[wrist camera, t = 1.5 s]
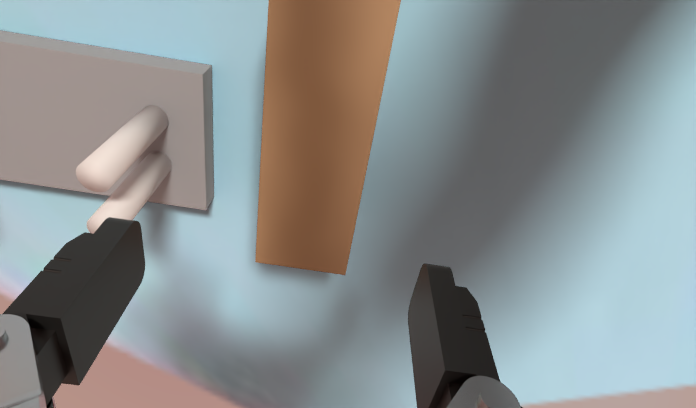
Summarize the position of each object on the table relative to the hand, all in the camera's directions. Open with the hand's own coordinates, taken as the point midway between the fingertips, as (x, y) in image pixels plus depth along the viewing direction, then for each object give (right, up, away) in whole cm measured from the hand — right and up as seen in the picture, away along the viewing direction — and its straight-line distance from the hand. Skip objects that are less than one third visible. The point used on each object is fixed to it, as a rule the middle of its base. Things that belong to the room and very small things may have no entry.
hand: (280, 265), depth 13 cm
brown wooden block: (+1, +7, +11) cm, 13 cm away
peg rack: (-13, +7, +12) cm, 19 cm away
